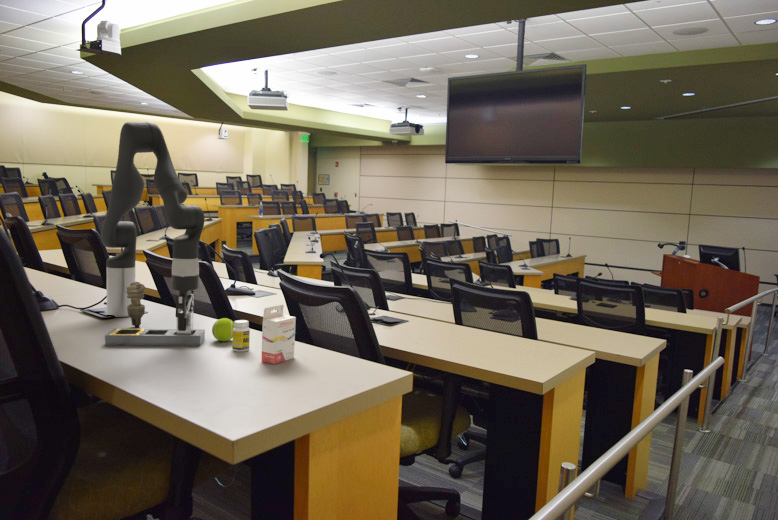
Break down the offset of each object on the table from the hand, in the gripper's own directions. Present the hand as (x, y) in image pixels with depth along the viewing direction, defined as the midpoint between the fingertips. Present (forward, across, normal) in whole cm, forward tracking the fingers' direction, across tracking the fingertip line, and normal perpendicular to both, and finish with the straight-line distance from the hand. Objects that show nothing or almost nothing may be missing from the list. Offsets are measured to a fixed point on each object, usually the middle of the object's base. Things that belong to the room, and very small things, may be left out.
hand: (185, 327), depth 166 cm
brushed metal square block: (+5, 0, 0) cm, 5 cm away
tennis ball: (+5, -2, +11) cm, 12 cm away
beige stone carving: (+5, -19, -19) cm, 27 cm away
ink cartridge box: (+5, +18, +28) cm, 34 cm away
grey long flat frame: (+5, 0, -8) cm, 9 cm away
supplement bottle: (+5, +8, +17) cm, 19 cm away
